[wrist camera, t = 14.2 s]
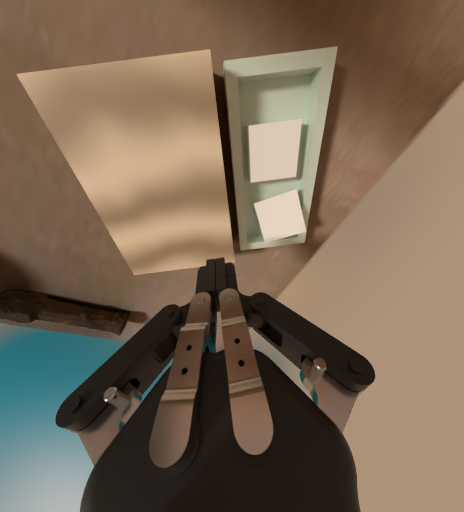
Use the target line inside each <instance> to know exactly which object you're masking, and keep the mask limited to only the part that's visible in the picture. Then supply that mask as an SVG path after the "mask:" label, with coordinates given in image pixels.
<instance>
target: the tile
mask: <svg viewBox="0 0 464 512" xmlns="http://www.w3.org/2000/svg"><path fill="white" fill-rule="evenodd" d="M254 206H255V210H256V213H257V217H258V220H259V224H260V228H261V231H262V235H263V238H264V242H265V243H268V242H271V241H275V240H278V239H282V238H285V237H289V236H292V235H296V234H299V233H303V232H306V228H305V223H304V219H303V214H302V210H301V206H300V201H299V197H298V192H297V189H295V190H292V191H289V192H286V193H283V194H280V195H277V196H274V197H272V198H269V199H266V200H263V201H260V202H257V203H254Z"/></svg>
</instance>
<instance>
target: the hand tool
mask: <svg viewBox="0 0 464 512" xmlns="http://www.w3.org/2000/svg"><path fill="white" fill-rule="evenodd" d="M128 317H129V312H127V313H122V312H121V311H120V310H119V311H117V312H113V311H108V310H103V309H98V308H93V307H89V306H84V305H79V304H73V303H68V302H63V301H58V300H54V299H51V298H50V296H49V295H47V294H44V293H38V292H28V291H4V292H2V293H0V319H8V320H11V321H16V322H19V323H30V322H32V321H34V320H44V321H51V322H57V323H63V324H69V325H74V326H81V327H87V328H90V329H97V330H102V331H108V332H113V333H116V334H117V335H120V334H121V333H122V331H123V329H124V328H125V326H126V323H127V320H128Z"/></svg>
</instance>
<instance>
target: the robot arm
mask: <svg viewBox="0 0 464 512" xmlns="http://www.w3.org/2000/svg"><path fill="white" fill-rule="evenodd" d="M197 276H198V277H197V284H196V292H195V295H194V296H193V298H192V299H191V302H190V303H188V304H186V305H184V306H181V307H179V306H177V305H175V304H171V305H168V306H166V307H164V308H163V309H162V310H161V311H160V312H159V313H157V314H156V315H155V316H154V317H153V318H152V319H151V320H150V321H149V322H148V323H147V324H146V325H145V326H144V327H142V328H141V329H140V330H139V331H138V332H137V333H136V334H135V335H134V336H133V337H132V338H131V339H130V340H128V341H127V342H126V343H125V344H124V345H123V346H122V347H121V348H120V349H119V350H118V351H117V352H116V353H114V354H113V355H112V356H111V357H110V358H109V359H108V360H107V361H106V362H105V363H104V364H103V365H102V366H101V367H99V368H98V369H97V370H96V371H95V372H94V373H93V374H92V375H91V376H90V377H89V378H88V379H87V380H85V382H83V383H82V384H81V385H80V386H79V387H78V388H77V389H76V390H75V391H74V392H73V393H71V394H70V395H69V396H68V397H67V399H66V400H65V401H64V402H63V403H62V405H61V406H60V408H59V410H58V412H57V415H56V424H57V426H59V427H61V428H65V429H68V430H70V431H72V432H75V433H78V435H79V436H80V438H81V440H82V443H83V444H84V446H85V448H86V450H87V452H88V454H89V456H90V458H91V460H92V462H93V464H94V468H93V470H92V472H91V474H90V477H89V479H88V481H87V484H86V487H85V490H84V493H83V497H82V501H81V508H80V512H360V507H359V500H358V492H357V474H356V467H355V463H354V459H353V456H352V453H351V450H350V447H349V445H348V443H347V441H346V439H345V437H344V436H343V434H342V432H343V430H344V428H345V425H346V423H347V420H348V418H349V415H350V413H351V410H352V408H353V406H354V403H355V401H356V398H357V396H359V395H360V394H361V393H362V392H363V391H364V390H365V389H366V388H367V387H368V386H369V385H370V384H371V383H372V382H373V381H374V379H375V372H374V369H373V367H372V365H371V364H370V362H369V361H368V360H367V359H366V358H365V357H363V356H362V355H360V354H359V353H357V352H356V351H354V350H353V349H351V348H350V347H348V346H347V345H345V344H343V343H342V342H340V341H339V340H337V339H336V338H334V337H333V336H331V335H329V334H328V333H326V332H325V331H323V330H322V329H320V328H318V327H317V326H316V325H314V324H312V323H311V322H309V321H308V320H306V319H305V318H303V317H302V316H300V315H298V314H297V313H295V312H294V311H292V310H291V309H289V308H288V307H286V306H285V305H283V304H281V303H280V302H278V301H277V300H275V299H274V298H272V297H271V296H269V295H268V294H266V293H261V292H259V293H255V294H254V295H252V297H251V296H245V295H243V294H241V293H240V292H239V291H238V287H237V281H236V274H235V267H234V265H233V264H232V263H231V262H229V263H225V258H224V257H221V258H216V259H207V260H206V266H201V267H200V269H199V270H198V275H197ZM219 311H221V319H222V323H221V325H222V334H223V342H224V350H222V351H219V352H217V353H216V333H217V312H219ZM248 326H249V327H253V329H254V330H255V331H256V332H257V333H258V334H260V335H261V336H262V337H263V338H264V339H265V340H267V341H268V342H269V343H270V344H271V345H273V346H274V347H275V348H276V349H277V350H278V351H279V352H281V353H282V354H283V355H284V356H285V357H287V358H288V359H289V360H290V361H291V362H292V363H294V364H295V365H296V366H297V367H298V368H299V369H300V379H301V381H302V384H303V385H304V386H305V388H306V389H307V390H308V391H309V393H310V394H311V396H312V399H313V401H312V400H311V399H310V398H309V397H308V396H307V395H306V394H305V393H304V392H303V391H302V390H301V389H300V388H299V387H298V386H297V385H296V384H295V383H294V382H293V381H292V380H291V379H290V378H289V377H288V376H287V375H286V374H285V373H284V372H283V371H282V370H281V369H280V368H279V367H278V366H277V365H276V364H275V363H274V362H273V361H272V360H271V359H270V358H269V357H267V356H266V355H264V354H263V353H262V352H260V351H257V350H254V349H253V346H252V342H251V338H250V334H249V330H248ZM173 357H174V358H173ZM172 358H173V362H172V365H171V366H170V367H169V368H168V369H167V371H166V372H165V373H164V374H163V375H162V377H161V378H160V379H159V381H158V382H157V383H156V384H155V386H154V387H153V388H152V390H151V391H150V392H149V394H148V395H147V396H146V397H145V399H144V400H143V401H142V395H143V394H144V392H145V391H146V390H147V389H148V387H149V386H150V385H151V384H152V383H153V381H154V380H155V379H156V378H157V376H158V375H159V374H160V373H161V372H162V370H163V369H164V368H165V367H166V366H167V364H168V363H169V362H170V361H171V359H172ZM141 402H142V403H141Z"/></svg>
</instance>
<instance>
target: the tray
mask: <svg viewBox="0 0 464 512" xmlns="http://www.w3.org/2000/svg"><path fill="white" fill-rule="evenodd" d="M337 49H338V46H336V47H328V48H321V49H313V50H305V51H297V52H289V53H281V54H274V55H266V56H258V57H250V58H242V59H234V60H227V61H224V64H223V77H224V88H225V99H226V109H227V120H228V131H229V142H230V153H231V163H232V174H233V185H234V196H235V206H236V217H237V228H238V239H239V245H240V250H241V251H242V250H250V249H258V248H266V247H273V246H281V245H289V244H297V243H305V237H306V232H303V233H299V234H296V235H292V236H289V237H285V238H282V239H278V240H275V241H271V242H268V243H265V242H264V238H263V235H262V231H261V228H260V224H259V220H258V217H257V213H256V210H255V206H254V203H257V202H260V201H263V200H266V199H269V198H272V197H274V196H277V195H280V194H283V193H286V192H289V191H292V190H295V189H297V192H298V197H299V201H300V206H301V210H302V214H303V219H304V223H305V228H306V231H307V225H308V219H309V214H310V208H311V202H312V196H313V190H314V184H315V178H316V172H317V166H318V161H319V155H320V149H321V143H322V137H323V131H324V125H325V119H326V113H327V108H328V102H329V96H330V90H331V84H332V78H333V72H334V66H335V60H336V54H337ZM296 119H302V125H301V135H300V144H299V154H298V163H297V173H296V177H291V178H283V179H275V180H267V181H260V182H252V183H251V182H250V181H249V179H248V165H247V143H246V126H250V125H257V124H265V123H273V122H281V121H288V120H296Z"/></svg>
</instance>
